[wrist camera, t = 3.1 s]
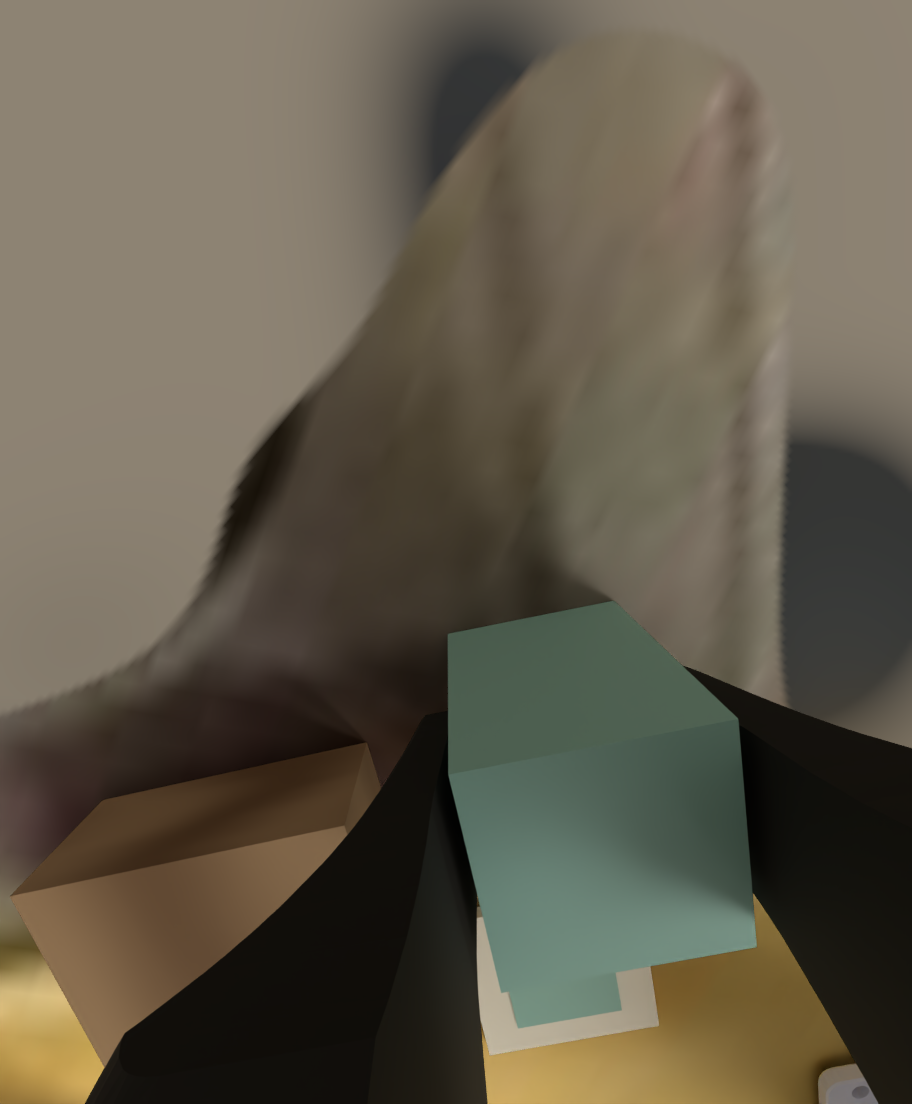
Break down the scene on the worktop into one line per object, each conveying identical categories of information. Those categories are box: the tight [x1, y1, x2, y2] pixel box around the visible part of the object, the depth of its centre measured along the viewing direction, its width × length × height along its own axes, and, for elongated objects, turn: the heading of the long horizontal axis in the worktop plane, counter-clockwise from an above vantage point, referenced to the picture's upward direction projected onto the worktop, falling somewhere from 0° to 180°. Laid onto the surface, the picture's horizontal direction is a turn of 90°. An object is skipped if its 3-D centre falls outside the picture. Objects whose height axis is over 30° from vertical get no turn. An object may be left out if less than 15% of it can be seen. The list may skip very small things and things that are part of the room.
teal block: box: [448, 601, 757, 993], centre depth 9 cm, size 4×4×5 cm
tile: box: [477, 907, 659, 1055], centre depth 13 cm, size 5×5×1 cm
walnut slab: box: [10, 742, 381, 1067], centre depth 12 cm, size 7×7×3 cm
